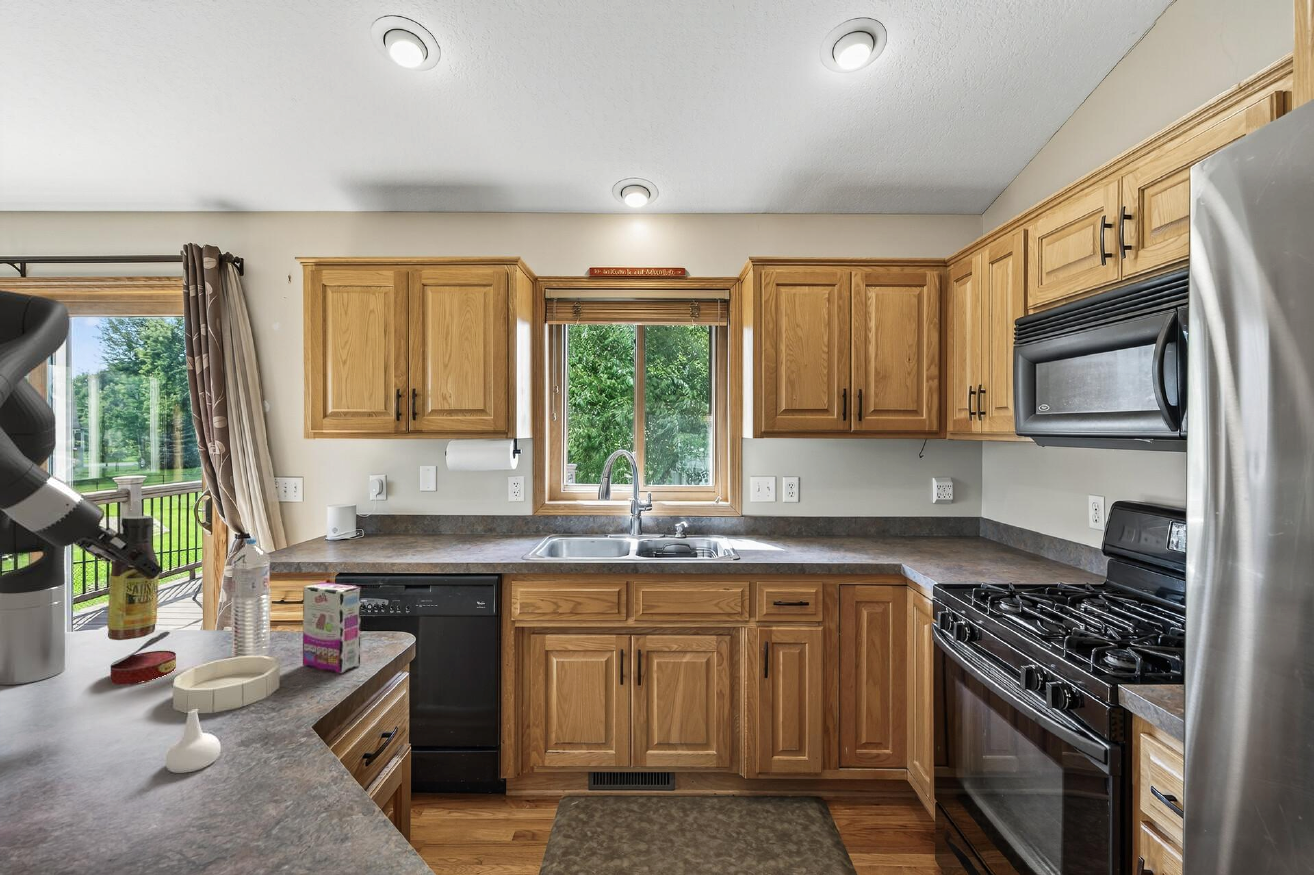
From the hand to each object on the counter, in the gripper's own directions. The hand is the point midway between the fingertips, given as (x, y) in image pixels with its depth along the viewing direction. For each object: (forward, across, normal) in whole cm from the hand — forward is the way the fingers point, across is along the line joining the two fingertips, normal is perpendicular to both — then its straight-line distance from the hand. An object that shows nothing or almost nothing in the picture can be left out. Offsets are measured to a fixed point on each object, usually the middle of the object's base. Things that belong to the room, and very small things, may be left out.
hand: (145, 571), depth 103 cm
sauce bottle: (+6, 0, +9) cm, 11 cm away
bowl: (+25, -5, +9) cm, 27 cm away
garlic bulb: (+14, -25, +21) cm, 35 cm away
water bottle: (+34, +10, 0) cm, 35 cm away
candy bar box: (+37, -10, -3) cm, 38 cm away
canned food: (+23, +19, +11) cm, 32 cm away
